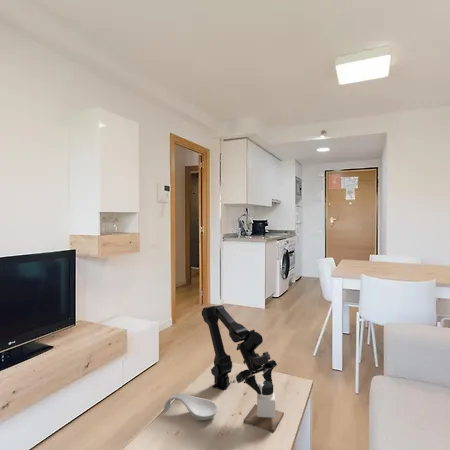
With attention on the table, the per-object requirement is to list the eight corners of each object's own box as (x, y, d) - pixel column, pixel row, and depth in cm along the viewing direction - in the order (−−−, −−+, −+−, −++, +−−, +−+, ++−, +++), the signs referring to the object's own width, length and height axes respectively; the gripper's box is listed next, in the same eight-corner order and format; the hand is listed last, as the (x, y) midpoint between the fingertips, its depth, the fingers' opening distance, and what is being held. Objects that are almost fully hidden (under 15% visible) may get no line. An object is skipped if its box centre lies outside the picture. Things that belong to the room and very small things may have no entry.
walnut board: (243, 422, 129) (243, 419, 129) (255, 406, 140) (255, 404, 140) (274, 432, 123) (274, 429, 123) (283, 414, 133) (283, 412, 133)
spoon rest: (221, 410, 138) (220, 394, 138) (212, 427, 127) (212, 410, 126) (171, 402, 145) (171, 386, 144) (159, 418, 133) (158, 401, 133)
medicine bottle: (274, 407, 133) (274, 379, 132) (275, 418, 126) (275, 388, 125) (257, 406, 134) (257, 378, 133) (257, 417, 127) (257, 387, 126)
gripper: (239, 352, 128) (257, 392, 119) (274, 341, 138) (293, 376, 129) (228, 364, 134) (245, 402, 126) (262, 352, 145) (279, 387, 136)
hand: (266, 391), depth 129 cm, fingers closed on medicine bottle, 6 cm apart
